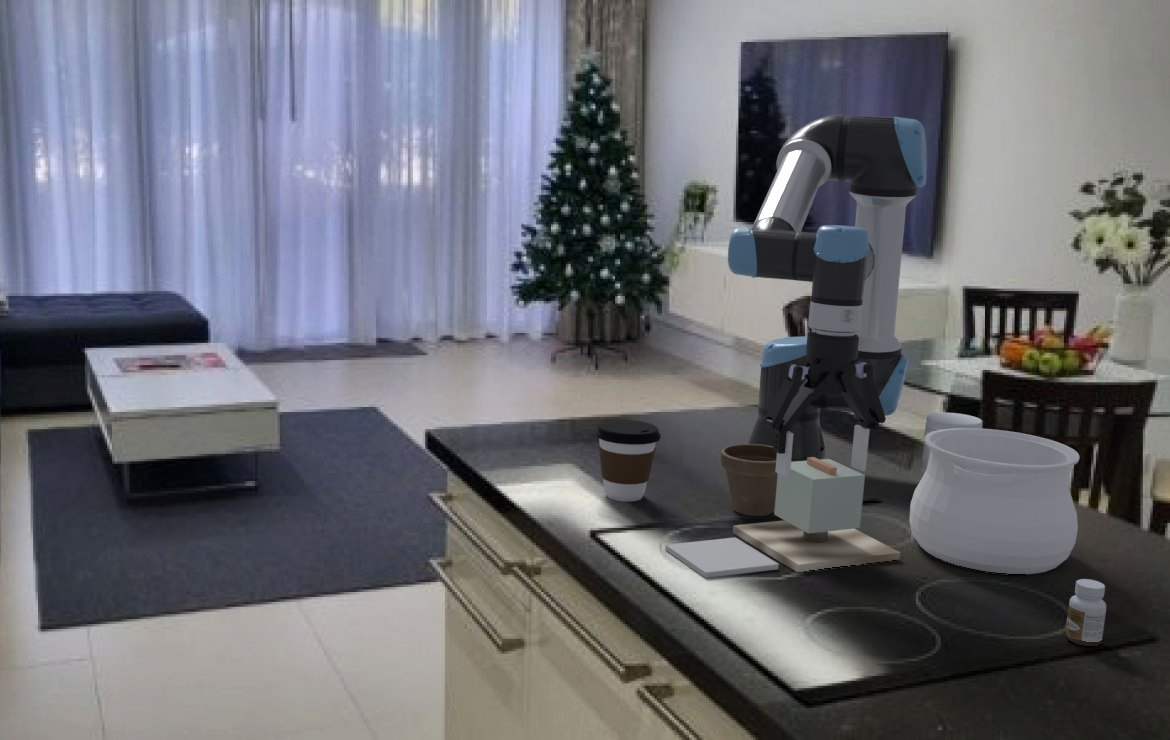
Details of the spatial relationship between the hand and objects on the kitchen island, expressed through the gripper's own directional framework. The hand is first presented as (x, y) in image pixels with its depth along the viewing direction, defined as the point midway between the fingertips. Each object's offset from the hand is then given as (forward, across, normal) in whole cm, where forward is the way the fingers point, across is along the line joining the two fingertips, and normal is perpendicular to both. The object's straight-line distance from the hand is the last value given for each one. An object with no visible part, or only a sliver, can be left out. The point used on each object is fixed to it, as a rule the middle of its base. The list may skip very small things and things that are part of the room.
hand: (820, 471), depth 192 cm
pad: (+12, -17, -1) cm, 21 cm away
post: (+12, 0, 0) cm, 12 cm away
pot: (+12, +25, -10) cm, 30 cm away
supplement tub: (+12, +37, +14) cm, 42 cm away
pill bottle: (+12, +13, -41) cm, 44 cm away
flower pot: (+12, 0, +18) cm, 22 cm away
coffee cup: (+12, -17, +31) cm, 38 cm away
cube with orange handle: (+8, 0, 0) cm, 8 cm away
